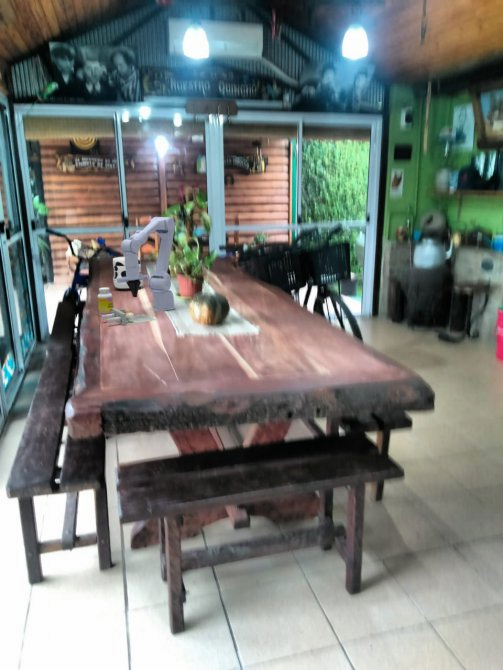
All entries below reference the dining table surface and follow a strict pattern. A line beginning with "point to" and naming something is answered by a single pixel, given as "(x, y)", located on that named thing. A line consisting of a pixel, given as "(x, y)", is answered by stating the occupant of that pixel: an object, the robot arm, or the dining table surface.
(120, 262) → the milk container
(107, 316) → the charcoal knob
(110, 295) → the supplement bottle
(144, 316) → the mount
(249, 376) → the dining table surface
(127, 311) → the dial
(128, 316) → the ivory knob
